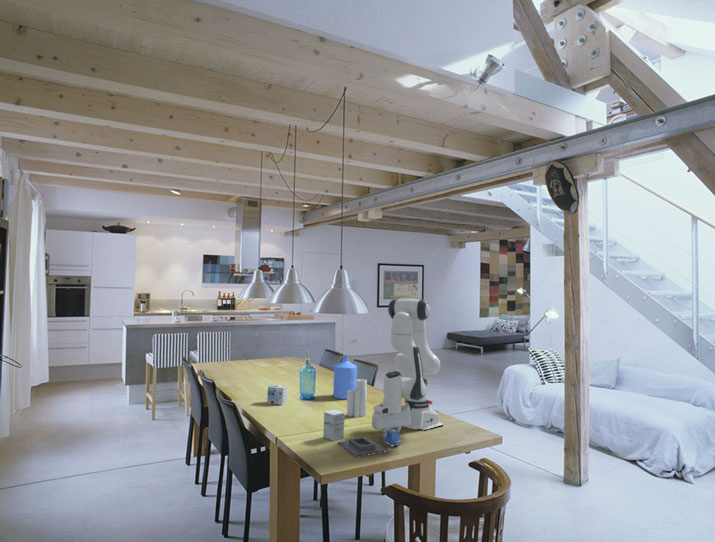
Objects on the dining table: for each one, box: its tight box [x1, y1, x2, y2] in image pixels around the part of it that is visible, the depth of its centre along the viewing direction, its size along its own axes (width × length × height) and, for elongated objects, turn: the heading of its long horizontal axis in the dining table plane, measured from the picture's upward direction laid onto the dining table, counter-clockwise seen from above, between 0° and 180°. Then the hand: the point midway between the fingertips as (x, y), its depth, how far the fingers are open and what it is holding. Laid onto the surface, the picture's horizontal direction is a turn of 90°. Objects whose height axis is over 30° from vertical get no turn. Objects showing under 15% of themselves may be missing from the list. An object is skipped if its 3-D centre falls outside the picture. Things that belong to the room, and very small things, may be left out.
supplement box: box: [322, 409, 345, 442], centre depth 220 cm, size 7×7×13 cm
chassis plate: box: [337, 436, 388, 458], centre depth 207 cm, size 16×18×3 cm
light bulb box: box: [266, 384, 288, 406], centre depth 282 cm, size 11×7×11 cm, turn 76°
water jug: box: [332, 354, 358, 400], centre depth 303 cm, size 16×16×28 cm
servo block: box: [381, 427, 402, 446], centre depth 214 cm, size 4×12×7 cm, turn 28°
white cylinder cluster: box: [346, 378, 368, 418], centre depth 260 cm, size 11×7×20 cm, turn 116°
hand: (391, 436), depth 214 cm, fingers open, 4 cm apart
